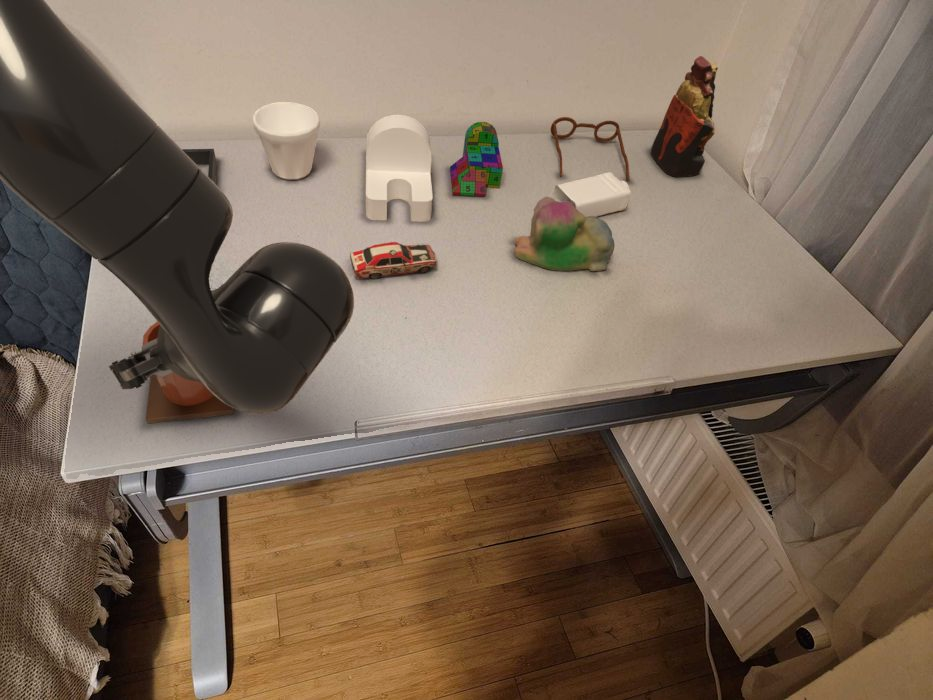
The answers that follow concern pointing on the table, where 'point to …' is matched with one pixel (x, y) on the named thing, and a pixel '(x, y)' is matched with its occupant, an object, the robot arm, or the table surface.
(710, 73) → the statue
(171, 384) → the terracotta cup
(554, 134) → the glasses
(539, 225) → the sculpture
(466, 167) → the multicoloured toy chair
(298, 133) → the cup
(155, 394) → the walnut board
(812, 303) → the table surface
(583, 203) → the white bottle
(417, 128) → the bracket
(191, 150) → the dark grey square frame
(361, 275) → the race car
